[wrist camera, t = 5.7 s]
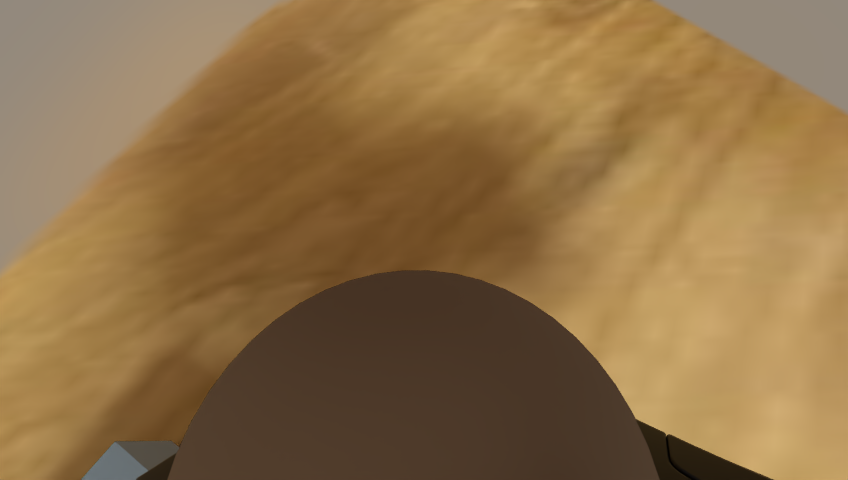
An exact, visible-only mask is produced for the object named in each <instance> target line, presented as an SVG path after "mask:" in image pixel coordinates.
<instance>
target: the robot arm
mask: <svg viewBox="0 0 848 480" xmlns="http://www.w3.org/2000/svg"><path fill="white" fill-rule="evenodd" d="M636 421H637V423H638V426H639V428H640V430H641V432H642V434H643V436H644V438H645V441H646V443H647V445H648V447H649V450H650V453H651V456H652V459H653V462H654V465H655V468H656V471H657V474H658V476H659V479H660V480H773V479H771V478H768V477H766V476H763V475H761V474H759V473H756V472H754V471H751V470H749V469H747V468H744V467H742V466H739V465H737V464H735V463H732V462H730V461H727V460H725V459H723V458H721V457H718V456H716V455H714V454H712V453H709V452H707V451H705V450H703V449H701V448H698V447H696V446H694V445H692V444H689V443H687V442H685V441H683V440H681V439H679V438H677V437H675V436H673V435H670V434H669V435H667V437H666V434H665V433H664V432H662V431H660V430H658V429H656V428H654V427H652V426H649V425H647V424H645V423H643V422H641V421H639V420H637V419H636ZM175 456H176V453H175V454H174V455H172V456H170V457H169V458H167V459H166V460H164V461H163V462H161V463H159V464H158V465H156V466H155V467H153V468H152V469H150V470H149V471H147V472H145V473H144V474H142V475H141V476H139V477H138V478H136V480H167V479H168V476H169V473H170V470H171V467H172V465H173V462H174V459H175Z"/></svg>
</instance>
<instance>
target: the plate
mask: <svg viewBox="0 0 848 480" xmlns="http://www.w3.org/2000/svg"><path fill="white" fill-rule="evenodd" d="M178 449H179V447H178V446H177V445H176V444H175V443H173V442H172V441H115V442H114V443H113V444H112V445H111V446H110V448H109V449H108V450H107V451H106V452H105V453H104V454H103V455H102V457H101V458H100V459H99V460H98V461H97V462H96V463H95V464H94V466H93V467H92V468H91V469H90V470H89V471H88V472H87V473H86V475H85V476H84V477H83V478H82V479H81V480H136V478H138V477H139V476H141V475H142V474H144V473H145V472H147V471H149V470H150V469H152V468H153V467H155V466H156V465H158V464H159V463H161V462H163V461H164V460H166V459H167V458H169V457H170V456H172V455H174V454H175V453H177V451H178Z"/></svg>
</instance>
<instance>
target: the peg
mask: <svg viewBox="0 0 848 480" xmlns="http://www.w3.org/2000/svg"><path fill="white" fill-rule="evenodd" d="M167 480H660V479H659V476H658V474H657V471H656V468H655V465H654V462H653V459H652V456H651V453H650V450H649V447H648V445H647V443H646V441H645V438H644V436H643V434H642V432H641V430H640V428H639V426H638V423H637V421H636V419H635V417H634V415H633V413H632V411H631V410H630V408H629V406H628V405H627V403H626V401H625V400H624V398H623V396H622V395H621V393H620V391H619V390H618V388H617V386H616V385H615V383H614V382H613V381H612V379H611V378H610V377H609V375H608V374H607V373H606V371H605V370H604V369H603V367H602V366H601V365H600V363H599V362H598V361H597V359H596V358H595V357H594V356H593V355H592V354H591V353H590V352H589V351H588V350H587V349H586V348H585V347H584V345H583V344H582V343H581V342H580V341H579V340H578V339H577V338H576V337H575V336H574V335H573V334H571V333H570V332H569V331H568V330H567V329H566V328H564V327H563V326H562V325H561V324H560V323H559V322H557V321H556V320H555V319H554V318H553V317H551V316H550V315H548V314H547V313H545V312H544V311H542V310H541V309H539V308H538V307H536V306H535V305H533V304H532V303H530V302H529V301H527V300H525V299H523V298H521V297H519V296H517V295H515V294H513V293H511V292H509V291H508V290H506V289H503V288H500V287H498V286H495V285H492V284H490V283H487V282H485V281H482V280H479V279H474V278H470V277H466V276H462V275H458V274H453V273H445V272H437V271H395V272H387V273H379V274H374V275H370V276H366V277H362V278H358V279H354V280H350V281H348V282H345V283H342V284H340V285H337V286H334V287H332V288H329V289H327V290H324V291H322V292H320V293H319V294H317V295H315V296H313V297H311V298H309V299H307V300H305V301H303V302H301V303H299V304H298V305H297V306H295V307H294V308H292V309H291V310H289V311H288V312H286V313H285V314H283V315H282V316H280V317H279V318H277V319H276V320H275V321H273V322H272V323H271V324H270V325H269V326H268V327H266V328H265V329H264V330H263V331H262V332H261V333H259V334H258V335H257V336H256V337H255V338H254V339H252V340H251V342H250V343H249V344H248V345H247V346H246V347H245V348H244V349H243V350H242V351H241V352H240V353H239V354H238V355H237V357H236V358H235V359H234V360H233V361H232V362H231V363H230V364H229V365H228V367H227V368H226V369H225V371H224V372H223V373H222V375H221V376H220V377H219V379H218V380H217V381H216V383H215V384H214V385H213V387H212V388H211V389H210V391H209V392H208V394H207V396H206V398H205V399H204V401H203V403H202V404H201V406H200V408H199V409H198V411H197V413H196V414H195V416H194V418H193V419H192V421H191V423H190V425H189V427H188V430H187V432H186V434H185V436H184V438H183V440H182V443H181V445H180V447H179V449H178V451H177V453H176V456H175V459H174V462H173V465H172V467H171V470H170V473H169V476H168V479H167Z"/></svg>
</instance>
